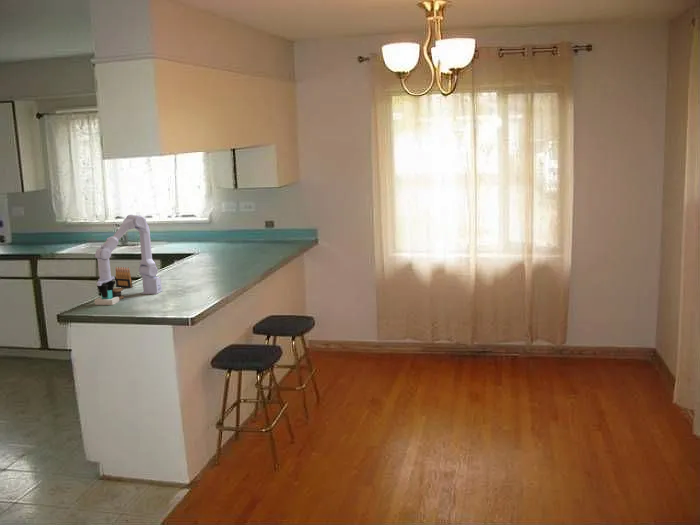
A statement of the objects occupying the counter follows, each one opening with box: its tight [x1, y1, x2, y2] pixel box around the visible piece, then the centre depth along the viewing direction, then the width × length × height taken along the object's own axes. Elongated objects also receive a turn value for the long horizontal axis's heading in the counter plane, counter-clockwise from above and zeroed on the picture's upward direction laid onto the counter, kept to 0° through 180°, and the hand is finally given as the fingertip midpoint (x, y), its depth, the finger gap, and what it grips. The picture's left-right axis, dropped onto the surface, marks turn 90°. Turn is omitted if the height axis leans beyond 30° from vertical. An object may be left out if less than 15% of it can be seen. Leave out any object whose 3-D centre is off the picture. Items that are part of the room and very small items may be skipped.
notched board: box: [94, 296, 120, 306], centre depth 363 cm, size 10×7×2 cm
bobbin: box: [112, 287, 125, 300], centre depth 372 cm, size 7×7×5 cm
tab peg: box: [100, 290, 113, 299], centre depth 363 cm, size 4×4×6 cm
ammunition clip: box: [115, 266, 134, 289], centre depth 397 cm, size 11×2×12 cm, turn 66°
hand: (107, 296), depth 363 cm, fingers open, 5 cm apart
